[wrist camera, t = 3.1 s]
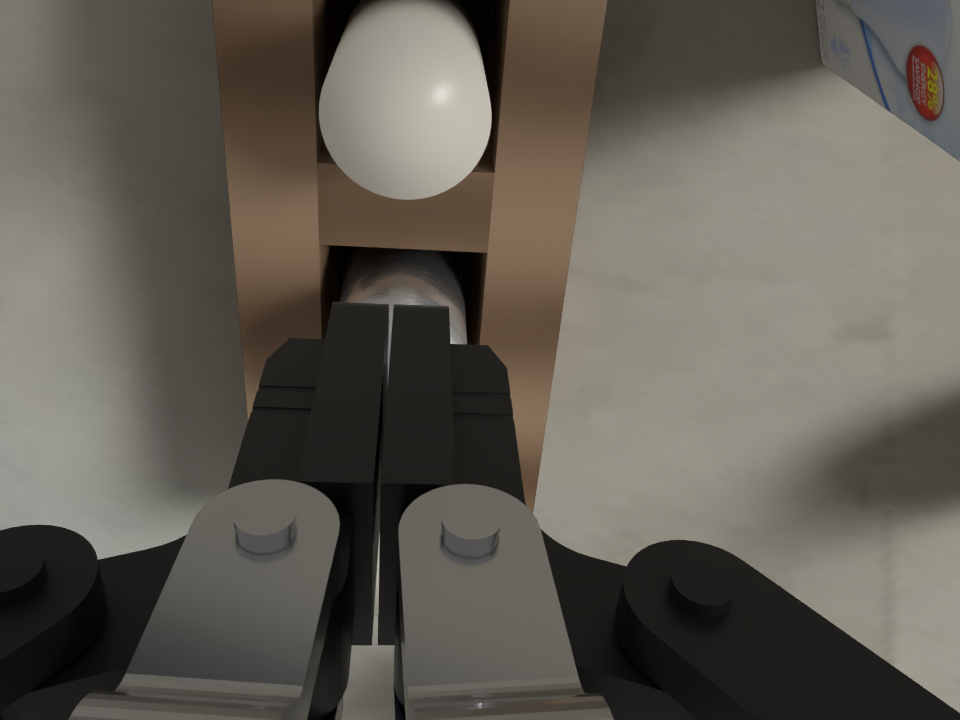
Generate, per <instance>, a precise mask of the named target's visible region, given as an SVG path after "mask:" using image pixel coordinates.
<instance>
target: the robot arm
mask: <svg viewBox="0 0 960 720" xmlns="http://www.w3.org/2000/svg"><path fill="white" fill-rule="evenodd" d="M388 345H389V304H377V303H352V302H333V303H332V306H331V311H330V316H329V321H328V326H327V331H326V336H325V339H305V338H289V339H288V340H287V341H286V342H285V343H284V344H283V345H281V346H280V347H279V348H278V349H277V350H276V351H275V352H274V353H273V354H272V355H271V356H270V357H269V358H267V359H266V362H265V366H264V369H263V373H262V376H261V379H260V383H259V390H257V393H256V396H255V400H254V403H253V409H252V412H251V413H250V417H249V420H248V424H247V427H246V430H245V434H244V437H243V440H242V444H241V447H240V451H239V454H238V457H237V461H236V464H235V468H234V471H233V474H232V478H231V481H230V485H229V488H228V490H226V491H224V492H222V493H220V494H219V495H217V496H215V497H214V498H212V499H211V500H210V501H209V502H208V503H206V504H205V505H204V506H203V507H202V509H201V510H200V511H199V512H198V513H197V515H196V517H195V519H194V520H193V522H192V524H191V527H190V529H189V531H188V533H187V535H185V536H183V537H181V538H179V539H177V540H175V541H172V542H170V543H167V544H164V545H161V546H158V547H154V548H150V549H146V550H142V551H137V552H132V553H128V554H123V555H119V556H114V557H109V558H105V559H100V560H98V559H97V555H96V552H95V550H94V548H93V547H92V545H91V544H90V543H89V542H88V541H87V540H86V539H85V538H84V537H83V536H81V535H79V534H78V533H76V532H74V531H71V530H69V529H66V528H62V527H57V526H52V525H26V526H19V527H13V528H8V529H5V530H1V531H0V720H341V718H342V711H343V695H344V692H345V690H346V687H347V683H348V678H349V667H350V657H351V646H352V645H372V634H373V619H374V605H375V591H376V576H377V562H378V548H379V610H378V645H395V652H394V688H393V720H960V713H959V712H957V711H956V710H954V709H953V708H952V707H950V706H949V705H947V704H946V703H945V702H943V701H942V700H940V699H939V698H937V697H936V696H935V695H933V694H932V693H930V692H929V691H927V690H926V689H925V688H923V687H922V686H920V685H919V684H918V683H916V682H915V681H913V680H912V679H910V678H909V677H908V676H906V675H905V674H903V673H902V672H900V671H899V670H898V669H896V668H895V667H893V666H892V665H891V664H889V663H888V662H886V661H885V660H883V659H882V658H881V657H879V656H878V655H876V654H875V653H874V652H872V651H871V650H869V649H868V648H866V647H865V646H864V645H862V644H861V643H859V642H858V641H856V640H855V639H854V638H852V637H851V636H849V635H848V634H847V633H845V632H844V631H842V630H841V629H839V628H838V627H837V626H835V625H834V624H832V623H831V622H829V621H828V620H827V619H825V618H824V617H822V616H821V615H820V614H818V613H817V612H815V611H814V610H812V609H811V608H810V607H808V606H807V605H805V604H804V603H802V602H801V601H800V600H798V599H797V598H795V597H794V596H793V595H791V594H790V593H788V592H787V591H785V590H784V589H783V588H781V587H780V586H778V585H777V584H775V583H774V582H773V581H771V580H770V579H768V578H767V577H766V576H764V575H763V574H761V573H760V572H758V571H757V570H756V569H754V568H753V567H751V566H750V565H748V564H747V563H746V562H744V561H743V560H741V559H739V558H738V557H736V556H735V555H733V554H731V553H729V552H727V551H725V550H723V549H721V548H718V547H715V546H712V545H709V544H705V543H701V542H696V541H688V540H670V541H664V542H659V543H656V544H653V545H650V546H648V547H646V548H644V549H642V550H641V551H639V552H638V553H637V554H636V555H635V556H634V557H633V558H632V559H631V561H630V562H629V563H628V566H627V567H626V566H622V565H618V564H615V563H611V562H607V561H604V560H600V559H596V558H593V557H589V556H586V555H583V554H580V553H577V552H575V551H573V550H571V549H569V548H566V547H564V546H563V545H561V544H559V543H558V542H556V541H554V540H553V539H552V538H551V537H549V536H548V535H547V534H545V533H544V532H543V531H542V530H541V529H540V526H539V524H538V521H537V519H536V518H535V516H534V515H533V513H532V512H531V511H530V510H529V509H528V507H527V506H526V502H525V497H524V490H523V482H522V475H521V468H520V460H519V453H518V445H517V438H516V431H515V423H514V420H513V408H512V401H511V398H510V386H509V379H508V371H507V367H506V366H505V365H504V364H503V362H502V361H501V360H500V359H499V358H498V357H497V355H496V354H495V353H494V352H493V351H492V349H491V348H490V347H489V346H488V345H469V344H450V317H449V306H430V305H406V304H394V307H393V320H392V334H391V347H390V361H389V374H388ZM379 534H380V547H379Z"/></svg>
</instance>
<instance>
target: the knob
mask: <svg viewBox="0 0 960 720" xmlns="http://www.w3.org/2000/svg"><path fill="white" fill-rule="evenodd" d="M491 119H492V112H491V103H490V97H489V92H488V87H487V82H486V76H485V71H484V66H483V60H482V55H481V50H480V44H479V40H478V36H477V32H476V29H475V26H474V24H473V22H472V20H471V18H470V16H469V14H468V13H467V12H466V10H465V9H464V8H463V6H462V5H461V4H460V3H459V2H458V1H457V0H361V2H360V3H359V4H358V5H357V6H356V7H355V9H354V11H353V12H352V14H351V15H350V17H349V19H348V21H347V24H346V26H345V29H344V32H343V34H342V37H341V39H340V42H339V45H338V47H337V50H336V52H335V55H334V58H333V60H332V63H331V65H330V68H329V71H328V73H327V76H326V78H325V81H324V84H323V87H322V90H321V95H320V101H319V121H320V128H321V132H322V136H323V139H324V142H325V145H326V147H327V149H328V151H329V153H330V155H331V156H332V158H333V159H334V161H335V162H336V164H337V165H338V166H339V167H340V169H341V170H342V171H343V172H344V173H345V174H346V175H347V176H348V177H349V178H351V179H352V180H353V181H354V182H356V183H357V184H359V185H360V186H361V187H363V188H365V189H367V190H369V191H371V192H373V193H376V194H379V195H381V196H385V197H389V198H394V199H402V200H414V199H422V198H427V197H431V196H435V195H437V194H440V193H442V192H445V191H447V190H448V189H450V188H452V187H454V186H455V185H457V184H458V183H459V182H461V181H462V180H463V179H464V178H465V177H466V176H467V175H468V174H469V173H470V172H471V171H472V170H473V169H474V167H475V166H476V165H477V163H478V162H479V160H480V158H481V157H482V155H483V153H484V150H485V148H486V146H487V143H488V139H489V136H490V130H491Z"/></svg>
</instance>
